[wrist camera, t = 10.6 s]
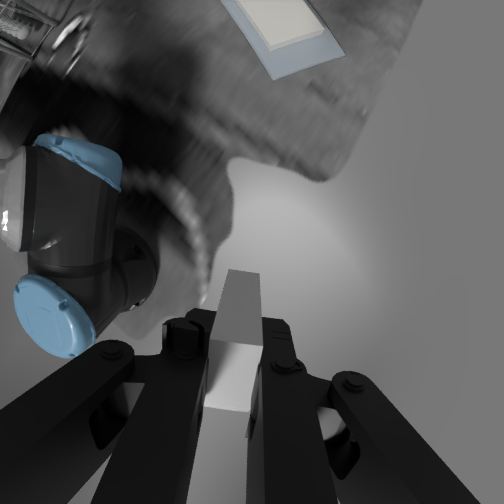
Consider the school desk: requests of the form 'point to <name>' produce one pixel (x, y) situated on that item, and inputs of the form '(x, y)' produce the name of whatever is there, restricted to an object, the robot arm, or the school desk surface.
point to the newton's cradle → (21, 27)
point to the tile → (281, 21)
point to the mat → (290, 55)
